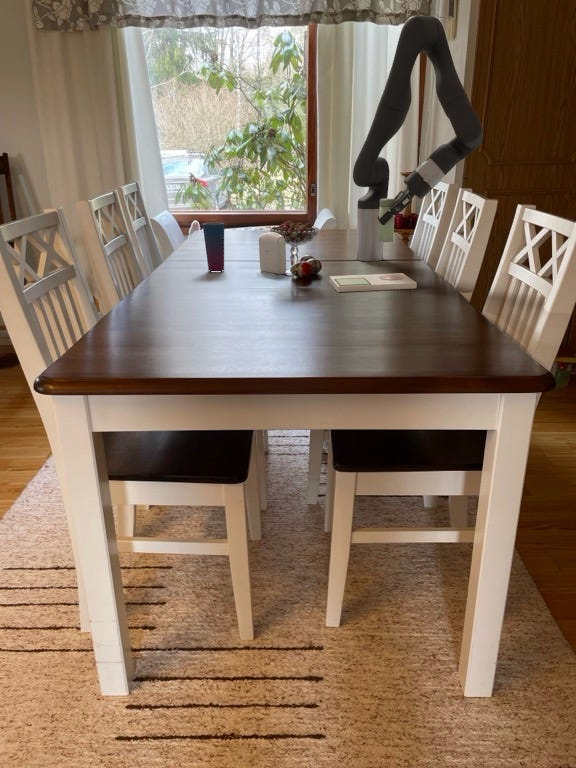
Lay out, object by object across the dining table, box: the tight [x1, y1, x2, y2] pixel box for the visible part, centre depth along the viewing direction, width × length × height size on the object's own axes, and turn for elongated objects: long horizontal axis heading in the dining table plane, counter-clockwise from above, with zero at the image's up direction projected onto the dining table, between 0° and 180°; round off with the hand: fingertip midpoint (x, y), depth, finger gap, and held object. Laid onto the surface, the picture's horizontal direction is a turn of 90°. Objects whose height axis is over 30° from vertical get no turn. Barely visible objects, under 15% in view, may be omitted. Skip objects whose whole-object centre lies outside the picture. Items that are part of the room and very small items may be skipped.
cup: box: [202, 221, 225, 271], centre depth 193 cm, size 7×7×15 cm
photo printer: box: [258, 231, 287, 275], centre depth 191 cm, size 10×4×12 cm, turn 39°
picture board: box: [328, 272, 418, 293], centre depth 172 cm, size 14×22×2 cm, turn 96°
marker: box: [378, 198, 395, 243], centre depth 178 cm, size 4×4×12 cm
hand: (380, 221), depth 178 cm, fingers closed on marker, 4 cm apart
